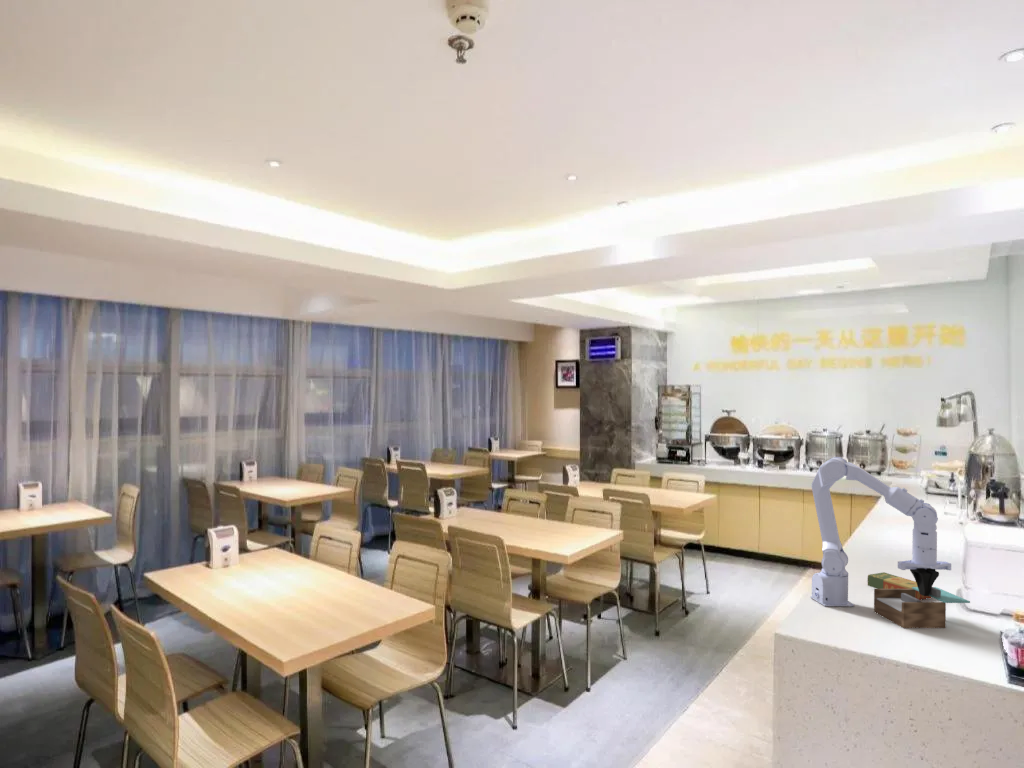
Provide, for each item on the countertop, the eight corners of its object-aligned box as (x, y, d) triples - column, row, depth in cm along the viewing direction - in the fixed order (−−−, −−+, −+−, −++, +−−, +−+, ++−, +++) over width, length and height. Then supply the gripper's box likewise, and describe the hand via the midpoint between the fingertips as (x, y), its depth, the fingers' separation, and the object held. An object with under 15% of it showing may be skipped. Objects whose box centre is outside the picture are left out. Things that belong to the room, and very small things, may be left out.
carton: (915, 602, 182) (915, 588, 182) (866, 586, 197) (866, 573, 197) (932, 599, 185) (932, 585, 186) (883, 583, 200) (883, 571, 200)
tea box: (903, 628, 160) (903, 603, 160) (873, 611, 172) (874, 588, 172) (945, 628, 161) (945, 603, 161) (913, 611, 173) (913, 588, 173)
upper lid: (944, 602, 161) (944, 594, 161) (912, 588, 173) (912, 580, 173) (970, 602, 161) (970, 594, 161) (936, 588, 173) (936, 580, 173)
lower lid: (900, 611, 161) (900, 602, 161) (876, 599, 171) (876, 590, 171) (926, 611, 162) (926, 602, 162) (900, 599, 172) (901, 590, 172)
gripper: (910, 550, 163) (910, 599, 163) (960, 550, 164) (960, 599, 163) (892, 544, 170) (892, 591, 170) (940, 544, 171) (940, 591, 170)
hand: (924, 594), depth 167 cm, fingers closed
